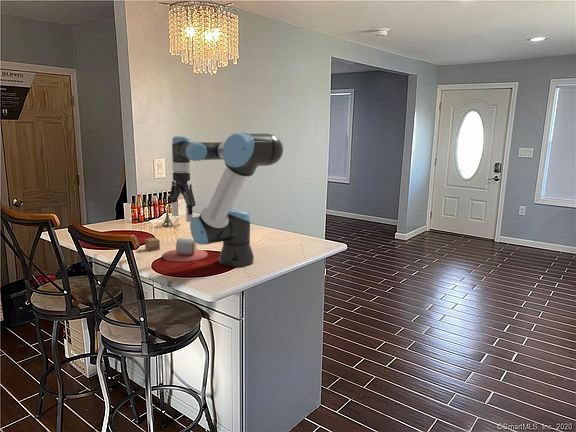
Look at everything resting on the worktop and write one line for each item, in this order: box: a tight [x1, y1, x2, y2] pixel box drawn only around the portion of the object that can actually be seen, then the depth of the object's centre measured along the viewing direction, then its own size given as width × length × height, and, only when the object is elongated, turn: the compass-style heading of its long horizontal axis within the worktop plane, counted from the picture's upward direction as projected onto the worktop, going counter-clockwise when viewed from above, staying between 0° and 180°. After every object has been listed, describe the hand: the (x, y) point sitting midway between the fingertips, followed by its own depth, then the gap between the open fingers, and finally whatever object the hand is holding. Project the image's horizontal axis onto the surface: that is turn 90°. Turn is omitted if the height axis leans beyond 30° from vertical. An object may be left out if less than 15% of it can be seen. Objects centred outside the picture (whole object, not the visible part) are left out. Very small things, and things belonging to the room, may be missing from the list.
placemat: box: [162, 248, 208, 263], centre depth 200 cm, size 20×20×1 cm
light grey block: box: [175, 237, 197, 255], centre depth 201 cm, size 11×8×8 cm
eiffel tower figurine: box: [161, 205, 181, 229], centre depth 261 cm, size 15×10×13 cm
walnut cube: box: [144, 237, 161, 252], centre depth 209 cm, size 5×5×5 cm
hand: (182, 218), depth 198 cm, fingers open, 13 cm apart
